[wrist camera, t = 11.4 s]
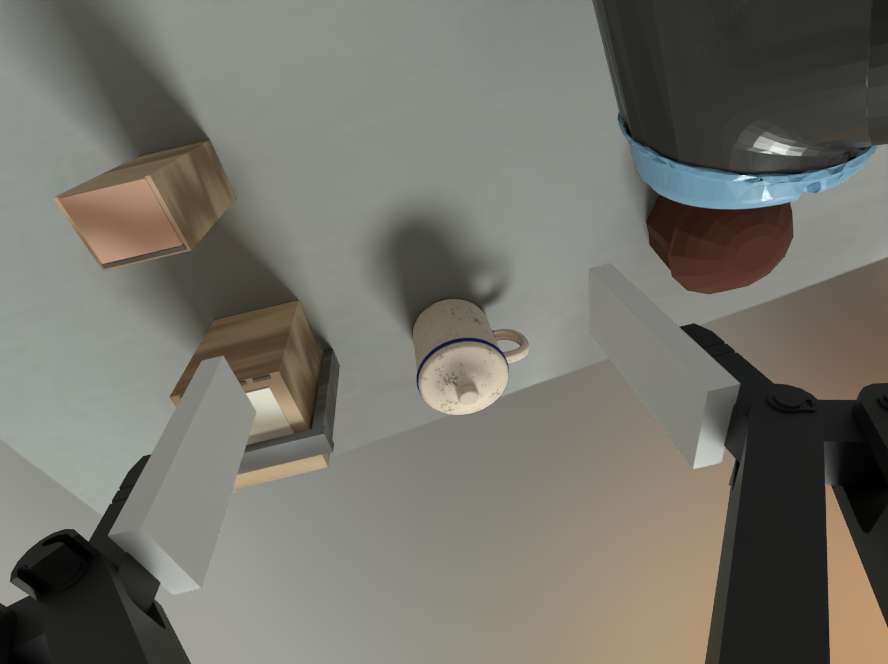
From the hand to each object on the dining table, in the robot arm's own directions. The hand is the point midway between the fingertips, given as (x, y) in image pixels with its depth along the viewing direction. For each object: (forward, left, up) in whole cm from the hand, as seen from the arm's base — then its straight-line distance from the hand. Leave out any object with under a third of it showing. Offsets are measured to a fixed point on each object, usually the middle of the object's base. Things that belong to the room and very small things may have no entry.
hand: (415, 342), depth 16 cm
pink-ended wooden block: (+10, -14, -29) cm, 33 cm away
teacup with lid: (+11, +16, -29) cm, 35 cm away
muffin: (-12, +29, -29) cm, 43 cm away
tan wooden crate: (+24, 0, -29) cm, 37 cm away
